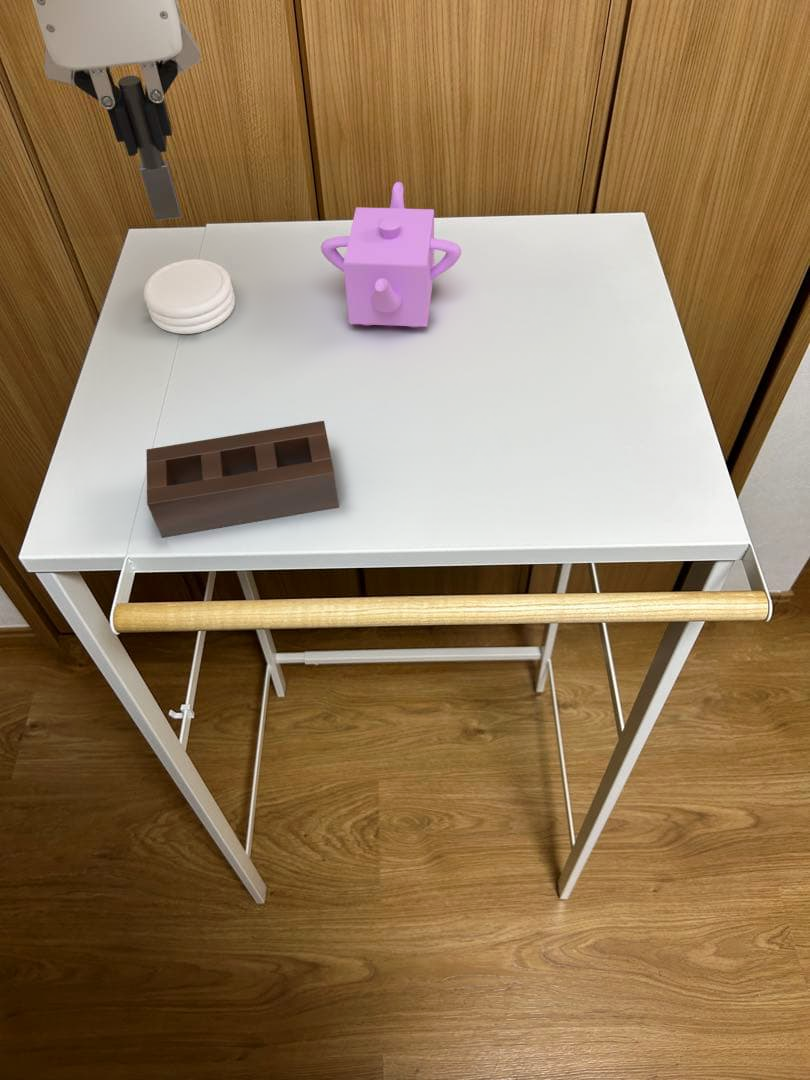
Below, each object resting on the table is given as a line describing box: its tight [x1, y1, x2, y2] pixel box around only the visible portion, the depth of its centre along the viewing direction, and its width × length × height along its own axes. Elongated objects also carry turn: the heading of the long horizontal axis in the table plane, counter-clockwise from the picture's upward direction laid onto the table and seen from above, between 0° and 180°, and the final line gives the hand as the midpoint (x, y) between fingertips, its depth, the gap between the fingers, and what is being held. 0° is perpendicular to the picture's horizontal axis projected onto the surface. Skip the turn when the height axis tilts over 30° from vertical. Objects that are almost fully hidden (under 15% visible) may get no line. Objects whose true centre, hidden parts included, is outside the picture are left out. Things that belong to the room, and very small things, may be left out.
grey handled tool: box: [117, 75, 182, 222], centre depth 71 cm, size 2×2×12 cm
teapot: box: [320, 181, 462, 329], centre depth 92 cm, size 15×13×11 cm
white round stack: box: [143, 258, 236, 335], centre depth 96 cm, size 10×10×4 cm
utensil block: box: [145, 420, 340, 538], centre depth 78 cm, size 7×17×5 cm, turn 101°
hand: (147, 144), depth 71 cm, fingers closed on grey handled tool, 1 cm apart
